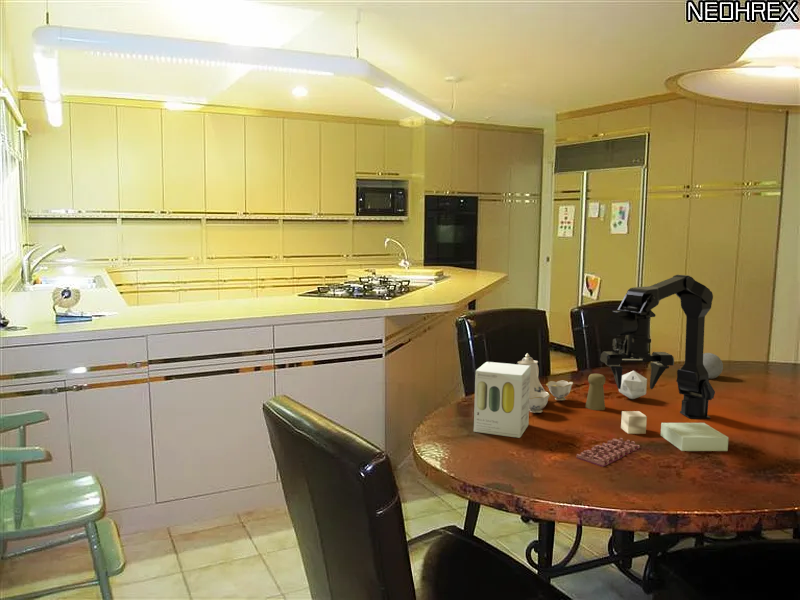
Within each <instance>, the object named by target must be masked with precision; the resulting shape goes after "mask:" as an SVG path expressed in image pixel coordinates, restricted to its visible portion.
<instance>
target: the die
mask: <svg viewBox="0 0 800 600" xmlns="http://www.w3.org/2000/svg"><path fill="white" fill-rule="evenodd" d="M647 384H648V378H646V377H645V376H643V375H642V374H641V373H638V372H637V371H636V370H632V371H630V372H627V373H624V374H622V382H621V388H620V389H618V392H619V393H620V394H622V395H623V396H625V397H627V398H628V399H630V400H635V399H638V398H640V397H643V396H645V395H646V394H647Z"/></svg>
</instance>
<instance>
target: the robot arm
mask: <svg viewBox="0 0 800 600" xmlns="http://www.w3.org/2000/svg"><path fill="white" fill-rule="evenodd" d="M674 295H675V296H677V297H678V298H679V299H680V308H681V309H682V311H683V313H684V315H685V316H686V318H685V320H686V321H685V349H684V363H683V365H681V367H680V368H678V369H677V370H676V375H677V377H676V381H675V382H676V383H677V389H678V393H679V395H683V399H681V407H680V408H681V409H680V411H679V413H680V414H681V415H683V416H684V417H686V418H688V419H689V420H690V419H694V420H695V419H698V420H699V419H700V420H701V419H702V420H703V419H704V420H705V419H709V420H710V419H711V416H709V415H708V412H709V410H708V409H709V401H712V399H715V398H714V397H715V394H716V391H715V389H714V388H713V387H712V384H711V383H710V379H709V375H708V372H707V370H706V368H705V367H704V365H703V354H704V348H705V347H704V343H705V325H706V323H705V321H706V318H705V317H706V316H707V314H708V313H709V311H710V310H711V309H712V303H713V299H714V295H713V292H712V291H711V290H710V288H708V287H707V286H706V285H704V284H703V283H701V282H699V281H697V280H695V279H694V277H692V276H691V275H686V274H675V275H673V276H672V277H669V278H667V279H665V280H662V281H659V282H657V283H655V284H651V285H650V286H636V287H630V288H629V289H628V290H627V291H626V293H625V295H624V297H623V299H622V301H621V303H620V305H619V306H618V308H617V310H612V314H611V315H610V316H609V317H608V318H607V320H606V322H605V329H606V332H607V333H608V334H609V335H610V336H612V337H621V336H625V337H624V340H622V338H613V339H612V350H613V351H602V352H601V354H600V358H599V359H600V362H601V363H604V364H605V366H608V367H609V368H610V370H611V371H612V374H613V377H614V380H615V383H616V387H617V389H618V390H619V389H620V388H621V382H622V375H623V365H621V364H622V363H623V362H626V363H627V362H632V363H633V362H634V363H635V362H640V363H643V362H644V363H646V362H649V363H650V364H649V365H650V368H651V370H650V378H649V389H650V390H653V389H654V388H655V386H656V384H657V382H658V381H659V379H660V377H661V376H662V375H663V373H664V372H665V371H666V369H669V368H670V366H675V358H674V356H673V355H672V354H671V353H669V352H666V351H652V352H651V353H649V349H650V343H652V338H650V335H651V334H650V331H651V318H655V317H656V316H657V315H656V314H655V313H654V312H653V311H652V310H653V309H654V308H655V307H657V306H658V305H659V303H660V301H661V300H664V299H666V298H668V297H671V296H674ZM617 351H618V352H617Z"/></svg>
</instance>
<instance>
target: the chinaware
mask: <svg viewBox="0 0 800 600" xmlns="http://www.w3.org/2000/svg"><path fill="white" fill-rule="evenodd" d="M524 356H525V357H523V358H522V359H521V360H519V361H517V363H516V364H517V365H528V366H531V371H530V393H529V413H533V414H536V413H537V414H539V413H542V412H543V409H544V408H545V407H546V406H547V404H548V400H549V398H550V396H551V395H552V396H553V397H554V399H555V400H556V401H565V400H566V398H565V397H567V396H569V394H570V392H571V390H572V386H573V384H574V382H573V381H569V382H568V381H567V380H563V379H562V380H557V381H553V380H550V381H548V382H547V383H545V386H547V388H548V389H549V390H548V391H549V392H550V393H549V392H548V391H546V390H545V388H544V386H543V385H542V384H541V382H540V379H539V374H540V373H539V370H540V369H539V365H538V363H539V361H538V360H534V359H533V357H531V356H530V354H529V353H528V352H527V353H526V354H525V355H524Z"/></svg>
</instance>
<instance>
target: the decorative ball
mask: <svg viewBox="0 0 800 600" xmlns="http://www.w3.org/2000/svg"><path fill="white" fill-rule="evenodd" d="M703 365H704V367H705V368H706V370H707V372H708V375H709V380H712V379H713V380H714V379H717V378H718V377H719V376H720V375H721V374H722V372H723V370H724V363H723V361H722V359H721V358H720V357H719V356H718V355H717V354H714V353H712V352H705V353H704V352H703Z"/></svg>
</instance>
